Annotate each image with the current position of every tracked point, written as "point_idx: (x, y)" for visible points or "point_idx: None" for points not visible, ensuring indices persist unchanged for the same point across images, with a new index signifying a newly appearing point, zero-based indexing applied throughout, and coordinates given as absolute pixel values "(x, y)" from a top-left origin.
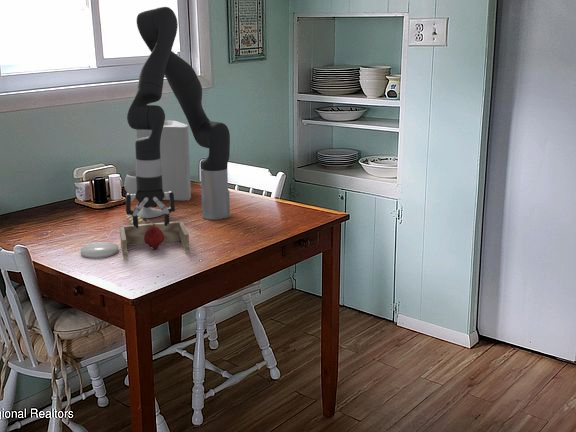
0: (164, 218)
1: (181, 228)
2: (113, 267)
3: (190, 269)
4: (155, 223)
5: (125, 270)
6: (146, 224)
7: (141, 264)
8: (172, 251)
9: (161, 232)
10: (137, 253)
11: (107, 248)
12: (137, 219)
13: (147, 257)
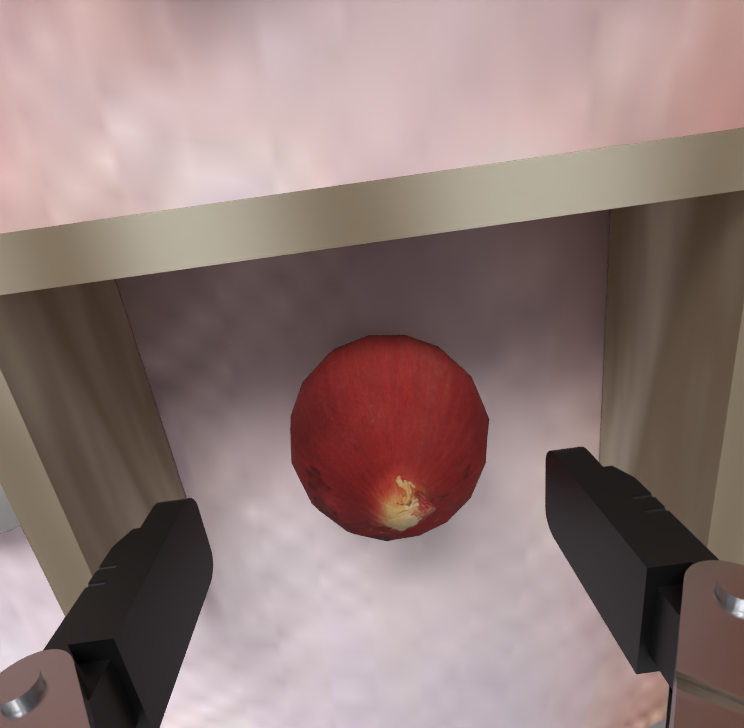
0: (593, 566)
1: (718, 425)
2: None
3: (579, 712)
4: (417, 192)
5: (229, 701)
6: (285, 226)
7: (309, 637)
8: (514, 448)
9: (477, 479)
10: (255, 459)
11: None
12: (169, 682)
13: (337, 538)
